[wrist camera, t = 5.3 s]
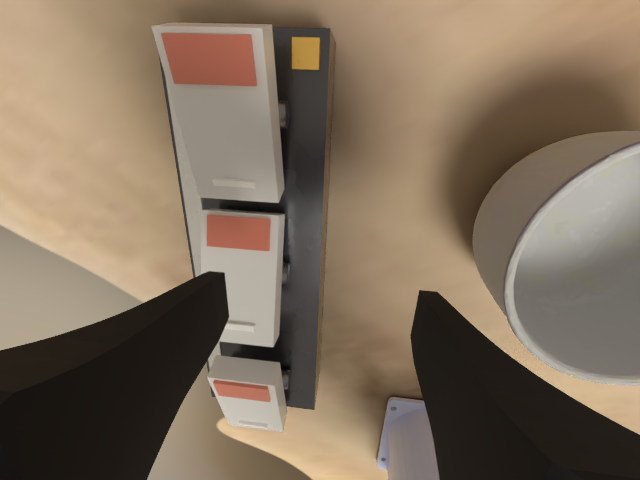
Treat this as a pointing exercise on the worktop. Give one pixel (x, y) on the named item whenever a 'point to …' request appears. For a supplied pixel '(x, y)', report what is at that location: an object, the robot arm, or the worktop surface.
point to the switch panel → (285, 206)
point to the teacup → (569, 254)
